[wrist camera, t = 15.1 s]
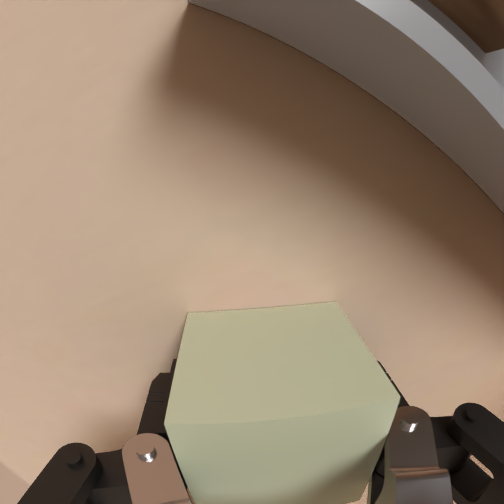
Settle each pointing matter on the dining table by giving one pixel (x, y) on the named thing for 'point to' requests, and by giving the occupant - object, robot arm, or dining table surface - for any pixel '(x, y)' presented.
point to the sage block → (277, 406)
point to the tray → (401, 68)
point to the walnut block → (477, 20)
